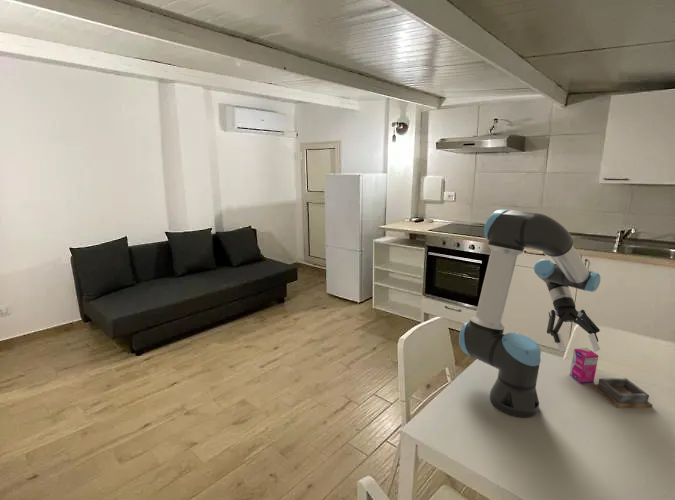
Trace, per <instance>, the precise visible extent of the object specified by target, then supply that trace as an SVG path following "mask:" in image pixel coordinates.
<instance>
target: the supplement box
mask: <svg viewBox="0 0 675 500" xmlns="http://www.w3.org/2000/svg"><path fill="white" fill-rule="evenodd" d="M598 360H599V354H597V353H596V352H594V351H592V350H591V349H589V348H588V347H582V348H574V349H573V353H572V357H571V365H570V370H569V371H570V372H569V376H570V377H572V378H573V379H574V380H575V381H577V382H578V383H579V384H591V383H594V381H595V377H596V371H597V367H598Z"/></svg>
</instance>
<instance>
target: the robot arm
mask: <svg viewBox="0 0 675 500" xmlns="http://www.w3.org/2000/svg"><path fill="white" fill-rule="evenodd" d="M483 233H484V238H485V239H486V240H487V241H488V242H487V246H488V248H489V249H490V254H489V258H488V262H487V267H486V271H485V275H484V278H483V283H482V286H481V292H480V295H479V300H478V304H477V308H476V311H475V313H476V314H475V315H474V316H472V317H470V319H469V321H467V322H465V323H463V325H462V327H461V328H460V331H459V333H458V334H459V335H458V343H459V347H460V349H461V351H462V352H463V353H465V355H468V356H470V357H471V358H473V359H475V360H476V359H477V360H479V361H481V362H482V363H484V364H487V365H489V366H492V367H493V368H496V369H498V373H497V374H498V375H497V378H496V379H495V382H494V384H493V385H492V387H491V389H490V392H489V400H490V402H491V403H492V405H493V406H494V407H495V408H496V409H498V410H499V411H501V412H502V413H505V414H508V415H510V416H513V417H519V418H530V417H533V416H536V415H537V414H538V412H539V408H540V401H539V396H538V392H537V381H538V377H539V369H540V364H541V361H542V359H541V355H542V353H541V351H542V350H541V348H540V345H539V344H538V343H537V342H536V341H535V340H534V339H532V338H531V337H529V336H527V335H525V334H522V333H515V332H507V333H505V334H504V330H505V326H504V325H503V323H502V320H503V315H504V311H505V307H506V303H507V299H508V295H509V291H510V290H509V289H510V286H511V282H512V279H513V275H514V271H515V270H514V269H515V266H516V262H517V258H518V256H519V255H521V254H523V253H524V250H525V248H528V249H534V250H538V251H541V252H542V253H544V254H545V256H548V257H550V258H551V259H552V260H553V261H554V262H553V261H551V260H549V259H547V258H543V259H539V260H538V261H536V262H535V264H534V266H533V271H534V273H535V275H536V276H537V277H538V278H540V280H542V282H544V283H545V284H546V287H547V289H548V293H549V295H550V298H551V301H552V304H553V307H554V309H551V310H550V311H549V312H548V317H549V318H548V321H547V322H548V323H547V328H546V334H550V335H551V336H552V338H553V340H554V343H555V344H557V346H558V350H559V352H560V353H562V352H564V351H567V350H566V345H565V343H564V340H563V336H562V333H559V331H561V330H560V329H561V327H562V325H563V324H564V323H574V324H576V325H578V326H579V327H580V328H581V329H583V330H584V331H585V332H586V333H588V338H589V341H590V344H591V347H592V350H593V352H594V353H596V352H598V351H600V350H601V348H600V347H601V346H600V345H599V343H598V342H599V338H598V335H597V333H600V332H601V329H600V328H599V327H598V325H596V324H595V322H594V321H593V320H592V319H591V318H590V317H589V316H588V314H587V313H586V310H584V309H581V310H577V309H576V304H575V301H574V299H573V298H572V297H573V294H572V293H571V289H570V288H573V289H574V288H575V289H578V290H582V291H587V292H589V293H590V292H592V293H593V292H596V291H597V289H599V286H600V283H601V275H600V274H599V272H594V271H592V270H589V269H588V268H587V266H586V265H585V263H584V261H583V259H582V258H581V257H580V255H579V253H578V251H577V249H575V247H574V239H573V237H572V235H571V234H570V232H569V231H568V229H566V228H565V226H563V225H562V224H561V223H560V222H558V220H557V221H556V220H555V219H553V218H552V217H551V216H548V215H545V214H543V213H540V212H539V213H536V212H528V211H521V210H514V209H497V210H495V211H494V212H493V213H491V214H490V215H489V217H488V218H487V220H486V222H485V225H484V229H483ZM569 287H570V288H569ZM556 316H557V317H558V320H557V322H556ZM555 322H556V324H555Z"/></svg>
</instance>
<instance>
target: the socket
mask: <svg viewBox="0 0 675 500" xmlns="http://www.w3.org/2000/svg"><path fill="white" fill-rule="evenodd" d="M598 379H599V380H598V384H597V383H595V384H593V385H592V387H593V389H595V390H596V391H597V392H598V393H600V394H601V395H602V396H603V397H604V398H605V399H606V400H608V401H609V402H610V403H611V404H613V406H615V407H616V408H619V409H625V408H626V409H627V408H629V409H630V408H633V409H634V408H636V409H637V408H643V409H644V408H646V409H647V408H649V407H650V408H653V403H651V402H650V401H649V398H650V394H648V393H647V392H646V391H644V390H643V389H641V388H640V387H639V386H638V385H637V384H635V383H633V382H632V381H630V380H629V379H628V378H622V377H621V378H619V377H618V378H615V377H614V378H609V377H608V378H598ZM650 408H649V409H650Z"/></svg>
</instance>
